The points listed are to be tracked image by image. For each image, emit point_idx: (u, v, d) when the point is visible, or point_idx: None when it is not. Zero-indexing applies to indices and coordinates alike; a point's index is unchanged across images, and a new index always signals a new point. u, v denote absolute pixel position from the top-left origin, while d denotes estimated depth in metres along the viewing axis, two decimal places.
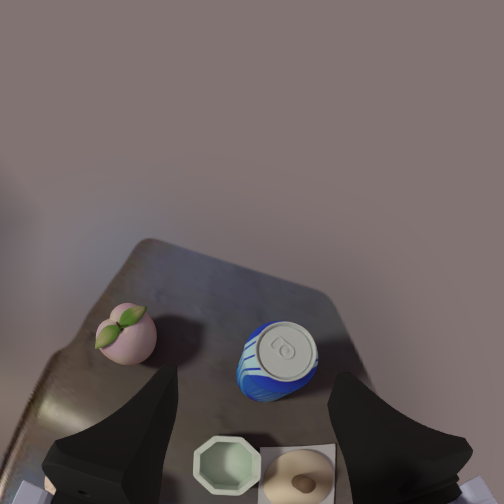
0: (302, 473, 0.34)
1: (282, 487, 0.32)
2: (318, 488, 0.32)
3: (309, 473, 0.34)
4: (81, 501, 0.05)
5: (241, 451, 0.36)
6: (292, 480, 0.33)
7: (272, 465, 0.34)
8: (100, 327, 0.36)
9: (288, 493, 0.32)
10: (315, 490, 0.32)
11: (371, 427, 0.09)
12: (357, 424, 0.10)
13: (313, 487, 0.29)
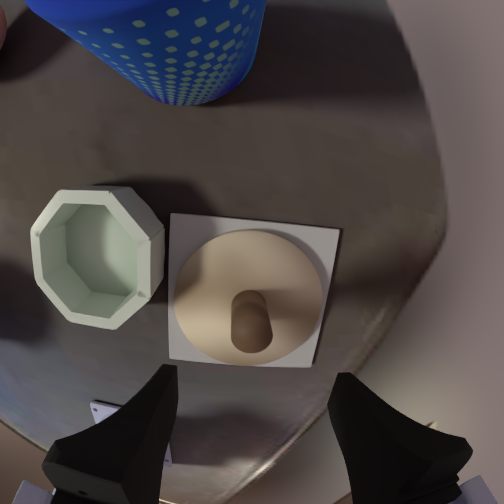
0: (256, 288, 0.20)
1: (211, 313, 0.21)
2: (287, 327, 0.21)
3: (271, 290, 0.20)
4: (81, 501, 0.05)
5: None
6: (233, 301, 0.20)
7: (191, 261, 0.19)
8: None
9: (224, 328, 0.21)
10: (280, 330, 0.21)
11: (371, 427, 0.09)
12: (357, 424, 0.10)
13: (266, 342, 0.17)
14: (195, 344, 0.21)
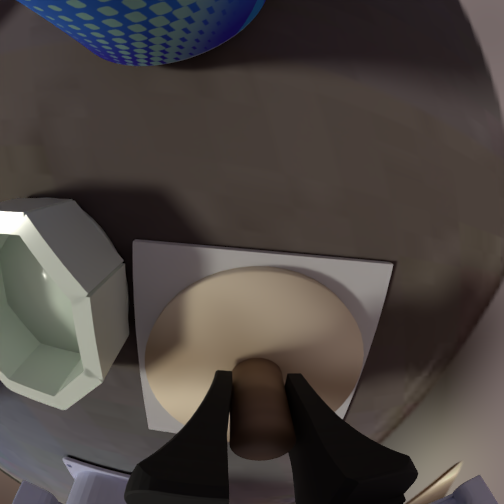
0: (268, 355, 0.13)
1: (201, 387, 0.13)
2: None
3: (290, 357, 0.13)
4: None
5: None
6: (232, 372, 0.13)
7: (167, 317, 0.12)
8: None
9: None
10: None
11: (309, 433, 0.08)
12: (300, 429, 0.09)
13: (284, 448, 0.09)
14: (181, 421, 0.14)
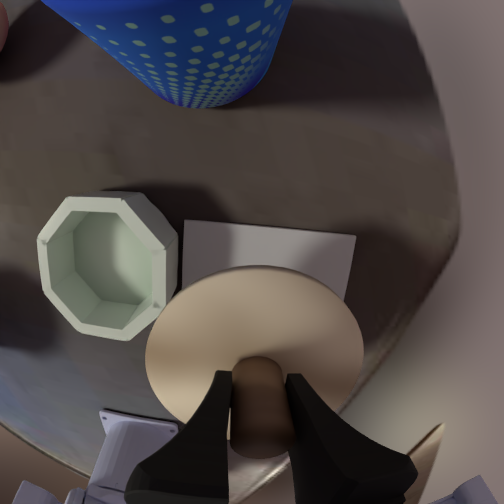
0: (268, 354, 0.13)
1: (202, 385, 0.13)
2: None
3: (290, 355, 0.13)
4: None
5: None
6: (233, 370, 0.13)
7: (167, 315, 0.12)
8: None
9: None
10: None
11: (309, 433, 0.08)
12: (299, 429, 0.09)
13: (284, 446, 0.09)
14: (181, 419, 0.14)
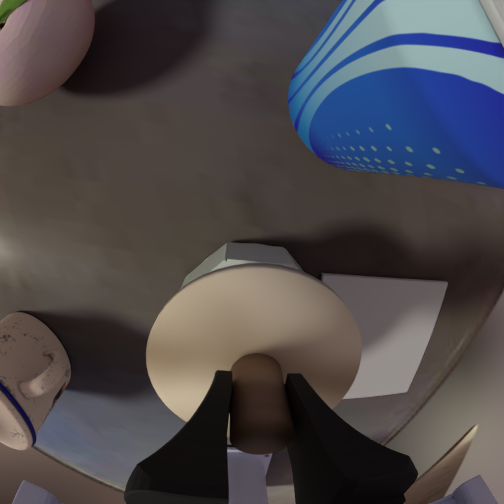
0: (267, 351, 0.13)
1: (202, 384, 0.13)
2: None
3: (289, 352, 0.13)
4: None
5: None
6: (232, 368, 0.13)
7: (166, 315, 0.12)
8: None
9: None
10: None
11: (309, 433, 0.08)
12: (299, 429, 0.09)
13: (284, 442, 0.10)
14: (183, 417, 0.14)
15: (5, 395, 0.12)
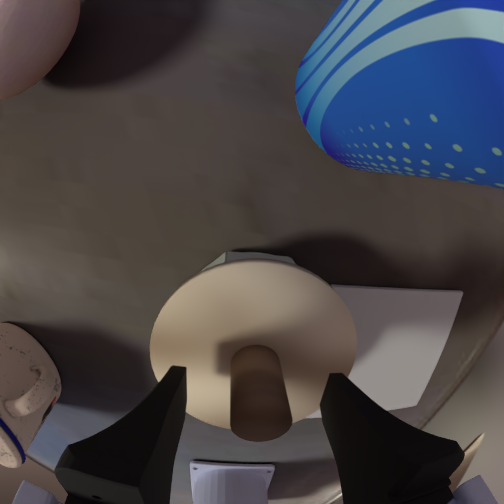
0: (266, 342, 0.14)
1: (204, 375, 0.14)
2: (308, 386, 0.15)
3: (286, 343, 0.14)
4: None
5: None
6: (233, 359, 0.14)
7: (170, 307, 0.13)
8: None
9: (222, 391, 0.14)
10: (298, 390, 0.15)
11: (361, 428, 0.09)
12: (348, 425, 0.10)
13: (282, 428, 0.10)
14: None
15: None
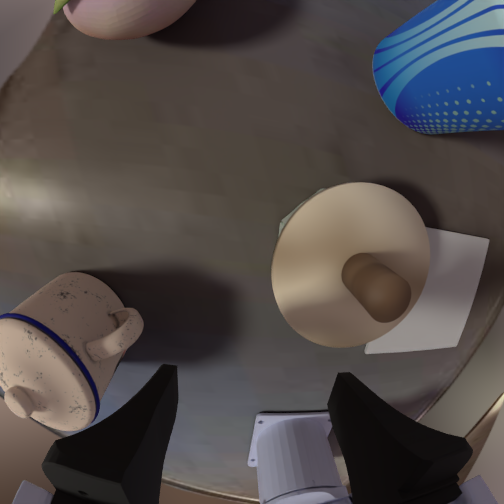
0: (370, 251, 0.16)
1: (318, 284, 0.17)
2: None
3: (384, 252, 0.17)
4: (81, 501, 0.05)
5: None
6: (344, 267, 0.17)
7: (299, 217, 0.16)
8: None
9: (330, 302, 0.17)
10: None
11: (371, 427, 0.09)
12: (357, 424, 0.10)
13: (403, 306, 0.13)
14: (293, 325, 0.17)
15: (69, 357, 0.13)
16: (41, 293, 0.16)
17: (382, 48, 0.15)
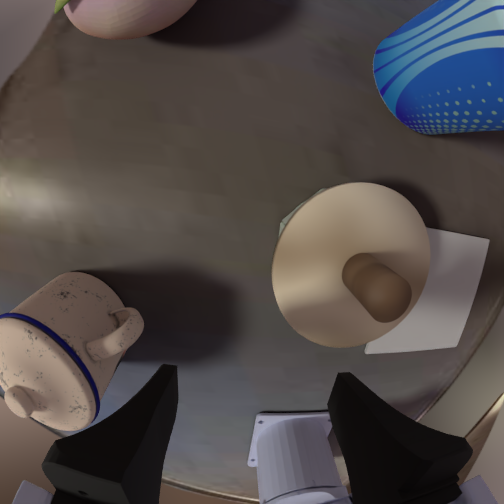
0: (370, 251, 0.16)
1: (319, 284, 0.17)
2: None
3: (384, 252, 0.17)
4: (81, 501, 0.05)
5: None
6: (344, 267, 0.17)
7: (300, 217, 0.16)
8: None
9: (330, 302, 0.17)
10: None
11: (371, 427, 0.09)
12: (357, 424, 0.10)
13: (403, 306, 0.13)
14: (294, 325, 0.17)
15: (70, 356, 0.13)
16: (41, 293, 0.16)
17: (383, 48, 0.15)
